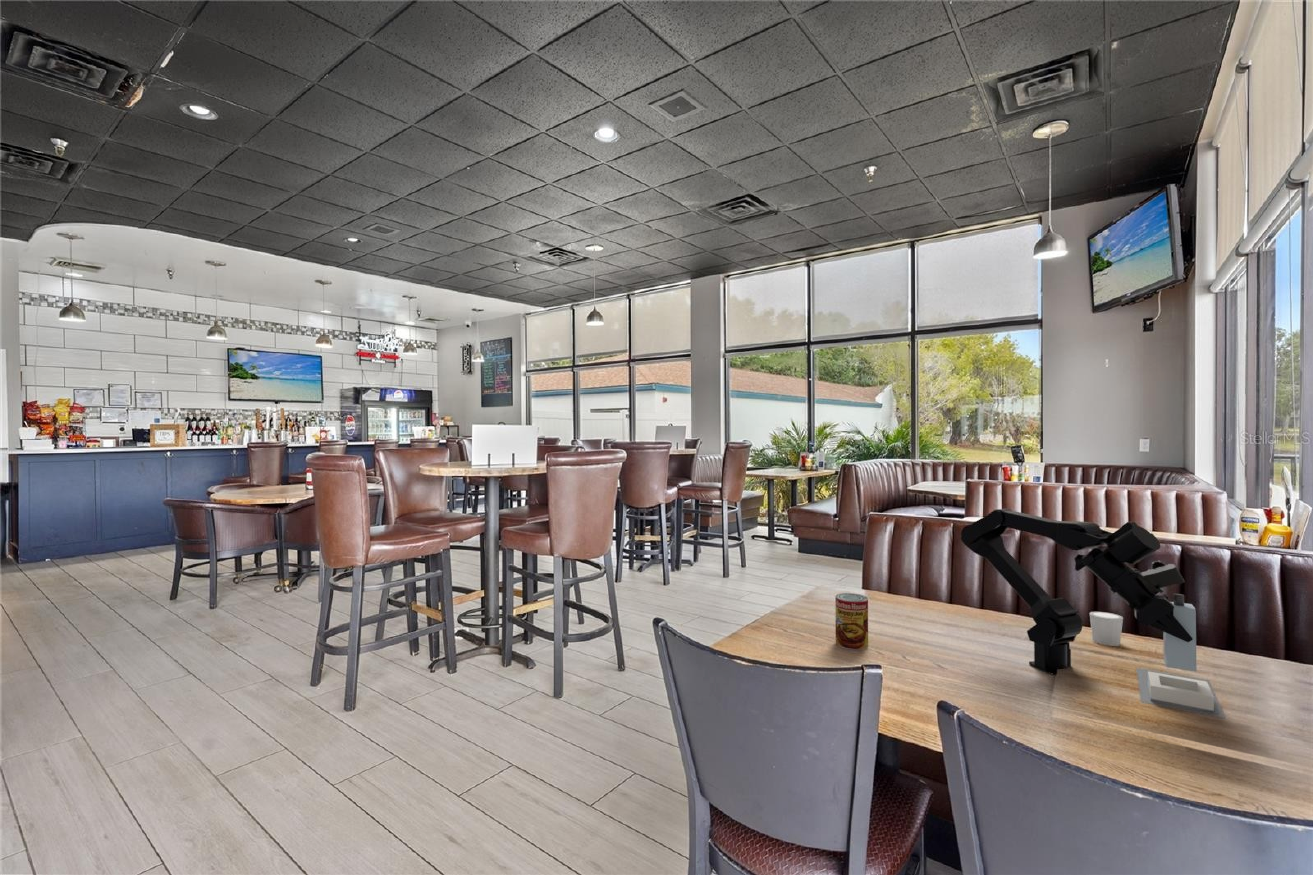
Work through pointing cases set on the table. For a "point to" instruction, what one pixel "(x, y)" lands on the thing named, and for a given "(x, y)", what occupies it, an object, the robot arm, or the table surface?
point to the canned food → (851, 621)
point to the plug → (1176, 649)
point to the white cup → (1106, 628)
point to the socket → (1180, 692)
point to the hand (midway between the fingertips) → (1188, 637)
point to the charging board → (1145, 698)
